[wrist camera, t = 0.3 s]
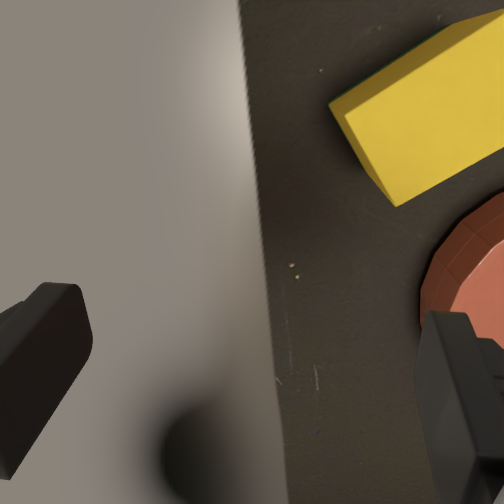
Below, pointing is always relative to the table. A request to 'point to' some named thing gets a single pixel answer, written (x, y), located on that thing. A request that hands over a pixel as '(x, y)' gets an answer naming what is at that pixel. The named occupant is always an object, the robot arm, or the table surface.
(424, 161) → the sponge
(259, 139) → the table surface
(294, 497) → the table surface
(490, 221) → the bowl
